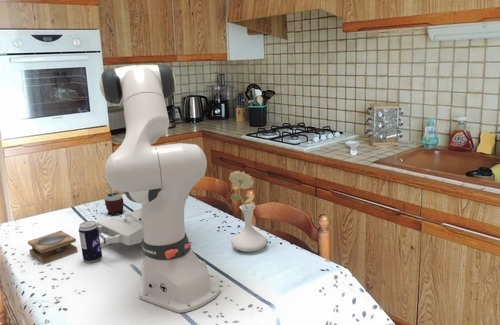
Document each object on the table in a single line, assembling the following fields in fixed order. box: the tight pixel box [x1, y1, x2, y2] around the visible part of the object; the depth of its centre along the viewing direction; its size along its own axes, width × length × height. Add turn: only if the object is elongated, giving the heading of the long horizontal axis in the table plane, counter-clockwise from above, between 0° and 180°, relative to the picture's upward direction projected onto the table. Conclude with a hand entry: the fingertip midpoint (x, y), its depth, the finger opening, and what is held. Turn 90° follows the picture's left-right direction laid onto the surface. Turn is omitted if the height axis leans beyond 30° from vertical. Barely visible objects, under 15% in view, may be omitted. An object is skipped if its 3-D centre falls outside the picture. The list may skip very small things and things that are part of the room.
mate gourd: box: [102, 175, 125, 217], centre depth 180 cm, size 8×8×15 cm
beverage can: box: [78, 220, 103, 263], centre depth 140 cm, size 6×6×12 cm
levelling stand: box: [27, 230, 79, 265], centre depth 147 cm, size 11×11×5 cm
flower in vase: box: [228, 170, 268, 252], centre depth 143 cm, size 13×11×25 cm
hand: (97, 237), depth 142 cm, fingers open, 8 cm apart
